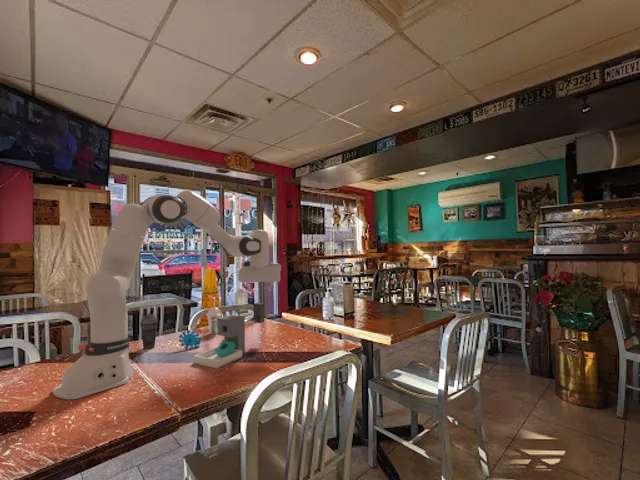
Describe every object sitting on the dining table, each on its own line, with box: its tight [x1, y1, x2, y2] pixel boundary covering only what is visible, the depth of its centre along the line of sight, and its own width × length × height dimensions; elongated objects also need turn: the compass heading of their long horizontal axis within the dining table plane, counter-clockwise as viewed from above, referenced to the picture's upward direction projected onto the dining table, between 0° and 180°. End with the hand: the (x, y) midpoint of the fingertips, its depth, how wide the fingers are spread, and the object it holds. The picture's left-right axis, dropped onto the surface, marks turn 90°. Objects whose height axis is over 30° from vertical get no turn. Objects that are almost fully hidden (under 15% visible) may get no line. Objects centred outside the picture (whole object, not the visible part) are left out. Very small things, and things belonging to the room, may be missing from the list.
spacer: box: [215, 339, 236, 357], centre depth 133 cm, size 3×6×6 cm
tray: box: [192, 346, 243, 370], centre depth 129 cm, size 14×13×3 cm
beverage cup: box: [139, 304, 159, 350], centre depth 146 cm, size 7×7×20 cm
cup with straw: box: [205, 295, 224, 335], centre depth 171 cm, size 8×9×20 cm
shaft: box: [245, 302, 265, 326], centre depth 145 cm, size 22×4×9 cm, turn 152°
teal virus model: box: [178, 329, 204, 350], centre depth 147 cm, size 11×6×10 cm
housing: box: [217, 314, 246, 355], centre depth 136 cm, size 8×8×16 cm
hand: (259, 291), depth 154 cm, fingers open, 8 cm apart
